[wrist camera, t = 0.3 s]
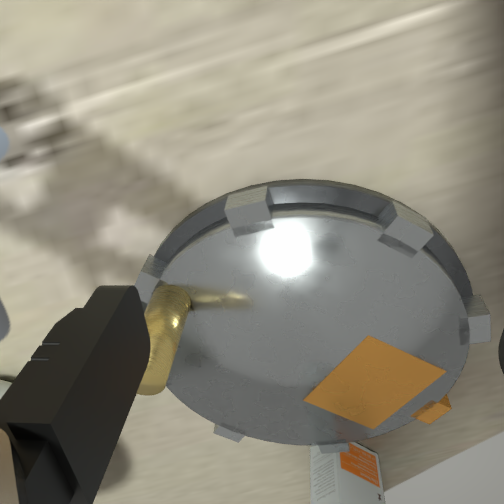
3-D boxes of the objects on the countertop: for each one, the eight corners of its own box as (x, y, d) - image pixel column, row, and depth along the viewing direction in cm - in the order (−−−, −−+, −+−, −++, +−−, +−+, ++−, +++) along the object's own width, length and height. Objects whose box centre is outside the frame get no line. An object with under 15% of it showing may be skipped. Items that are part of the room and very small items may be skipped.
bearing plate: (223, 106, 25) (221, 110, 24) (551, 283, 30) (557, 293, 29) (107, 355, 39) (102, 364, 39) (343, 449, 44) (344, 458, 43)
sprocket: (217, 105, 24) (180, 170, 17) (567, 294, 29) (657, 408, 22) (97, 367, 38) (49, 464, 31) (345, 463, 43) (354, 566, 36)
